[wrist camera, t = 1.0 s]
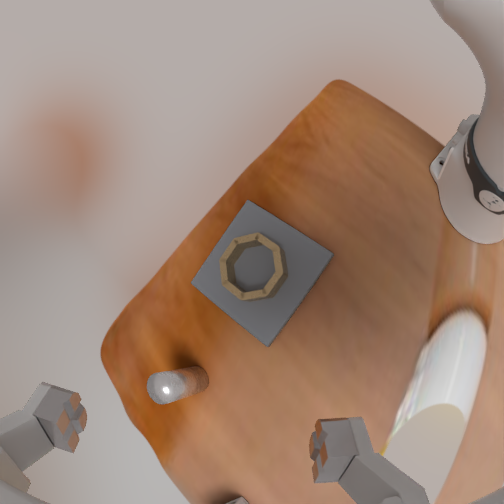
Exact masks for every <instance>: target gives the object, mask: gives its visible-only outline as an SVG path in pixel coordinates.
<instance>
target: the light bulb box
mask: <svg viewBox="0 0 504 504" xmlns="http://www.w3.org/2000/svg"><path fill="white" fill-rule="evenodd" d="M226 504H249V503H248V502H247V501H246V500H245V499H244V498H243V497H240V498H237V499H235V500H233V501H230V502H228V503H226Z"/></svg>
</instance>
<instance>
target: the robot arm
mask: <svg viewBox="0 0 504 504" xmlns="http://www.w3.org/2000/svg"><path fill="white" fill-rule="evenodd" d="M430 1H431V3H432V5H433V7H434V8H435V9H436V11H437V13H438V14H439V16H440V17H441V18H442V19H443V21H444V22H445V23H446V24H448V25H449V26H450V27H451V28H452V29H453V30H454V31H455V32H456V33H457V34H458V35H459V36H460V37H461V38H462V39H463V40H464V42H465V43H466V44H467V45H468V47H469V48H470V49H471V51H472V52H473V54H474V55H475V57H476V59H477V61H478V63H479V65H480V67H481V69H482V72H483V75H484V78H485V84H486V92H485V98H484V102H483V106H482V110H481V113H480V115H470V116H469V117H468V119H467V120H463V121H462V122H461V123H460V126H459V127H458V131H457V133H456V134H455V135H454V136H453V138H452V139H451V140H450V141H449V143H448V144H447V145H446V146H445V147H444V149H443V150H442V151H441V152H440V153H439V155H438V156H437V157H436V158H435V159H434V161H433V162H432V163H431V165H430V172H431V174H432V176H433V178H434V180H435V182H436V183H437V185H438V189H439V196H440V201H441V205H442V208H443V211H444V213H445V215H446V217H447V218H448V220H449V221H450V223H451V224H452V225H453V227H454V228H455V229H456V230H457V231H458V232H459V233H461V234H462V235H463V236H465V237H466V238H468V239H470V240H472V241H474V242H478V243H482V244H492V243H496V242H499V241H501V240H503V239H504V0H430ZM440 162H441V163H443V165H440V164H439V163H440ZM80 401H81V398H80V395H79V393H76V392H73V391H70V390H66V389H63V388H60V387H57V386H54V385H51V384H48V383H45V382H42V383H41V384H39V386H38V387H37V388H36V390H35V391H34V393H33V394H32V396H31V397H30V399H29V400H28V402H27V404H26V405H25V407H24V408H23V410H22V411H21V410H18V411H16V412H14V413H12V414H10V415H7V416H6V417H3V418H1V419H0V504H49V503H47V502H45V501H42V500H40V499H38V498H36V497H34V496H32V495H29V494H28V493H27V491H28V489H29V486H30V484H31V483H30V480H29V479H28V478H27V477H26V476H25V475H24V474H23V472H22V471H24V470H25V469H27V468H28V467H29V466H31V465H32V464H33V463H35V462H36V461H38V460H39V459H40V458H42V457H43V456H44V455H46V454H47V453H48V452H49V451H51V450H52V449H54V447H57V448H59V449H62V450H65V451H69V452H72V453H74V451H75V449H76V446H77V444H78V442H79V437H78V434H79V433H81V432H82V431H84V428H85V426H86V421H87V414H86V410H85V408H84V407H83V406H82V405H81V404H80ZM315 430H316V431H315V432H313V433H312V435H311V438H310V444H309V451H310V458H311V459H312V460H314V461H315V462H314V464H313V467H312V472H313V478H314V483H327V482H338V483H339V484H340V485H341V487H342V488H343V489H344V490H345V491H346V492H347V493H348V494H349V495H350V496H351V498H352V499H353V500H354V501H355V502H356V503H357V504H429V500H428V498H427V495H426V492H425V489H424V488H423V487H422V486H421V485H419V484H418V483H417V482H415V481H414V480H413V479H411V478H410V477H409V476H407V475H406V474H405V473H403V472H402V471H401V470H399V469H398V468H397V467H396V466H394V465H393V464H392V463H390V462H389V461H388V460H387V459H386V458H384V457H383V456H382V455H380V454H379V453H374V450H373V447H372V444H371V441H370V438H369V435H368V432H367V429H366V426H365V423H364V420H363V418H362V417H351V418H333V419H318V420H317V421H316V424H315ZM469 504H504V487H502V488H500V489H498V490H496V491H494V492H492V493H490V494H488V495H486V496H484V497H482V498H480V499H478V500H476V501H473V502H471V503H469Z"/></svg>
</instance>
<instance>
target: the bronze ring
mask: <svg viewBox="0 0 504 504" xmlns="http://www.w3.org/2000/svg"><path fill="white" fill-rule="evenodd" d="M260 245H264V246H266V247H267V248H269V249H270V250H272V251H273V258H274V264H275V271H276V272H275V273H274V274H273V276H272V277H271V279H270V280H269V282H268V283H267V284H266V286H265V287H264V289H262V290H256V291H251V292H247V291H245V290H244V289H243V288H241V287H240V286H239V285H238V284H236V277H235V268H234V264H235V263H236V261H237V260H238V258H239V257H240V256H241V254H242V253H243V251H244V250H245V249H247V248H251V247H256V246H260ZM219 263H220V272H221V282H222V286H224V287H225V288H226V289H227V290H229V291H230V292H231V293H232V294H234V295H235V296H236V297H237V298H239V299H240V300H242V301H247V302H252V301H258V300H264V299H270V298H273V297H274V296H275V295H276V294H277V292H278V291H279V289H280V288H281V286H282V285H283V284H284V282H285V281H286V279H287V278H288V269H287V263H286V256H285V251H284V250H283V249H282V248H280V247H279V246H278V245H277V244H275V243H274V242H272V241H271V240H269V239H268V238H266V237H265V236H263V235H262V234H260V233H258V232H257V233H253V234H249V235H245V236H241V237H237V238H234V239H233V240H232V242H231V243H230V245H229V246H228V247H227V249H226V250H225V252H224V253H223V255H222V256H221V258H220V260H219Z"/></svg>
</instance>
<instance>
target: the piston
mask: <svg viewBox="0 0 504 504" xmlns="http://www.w3.org/2000/svg"><path fill="white" fill-rule="evenodd" d="M208 384H209V377H208V375H207V373H206V371H205V370H204V369H203V368H201V367H198V366H193V367H188V368H182V369H177V370H171V371H166V372H160V373H154V374H152V375H151V376H150V377H149V379H148V382H147V390H148V393H149V395H150V397H151V398H152V400H154V401H155V402H156V403H158V404H166V403H170V402H173V401H176V400H179V399H182V398H185V397H188V396H191V395H194V394H197V393H200V392H203V391H204V390H206V389H207V387H208Z"/></svg>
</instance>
